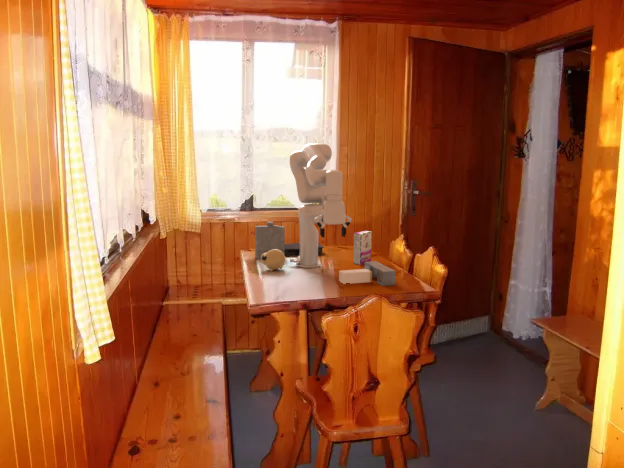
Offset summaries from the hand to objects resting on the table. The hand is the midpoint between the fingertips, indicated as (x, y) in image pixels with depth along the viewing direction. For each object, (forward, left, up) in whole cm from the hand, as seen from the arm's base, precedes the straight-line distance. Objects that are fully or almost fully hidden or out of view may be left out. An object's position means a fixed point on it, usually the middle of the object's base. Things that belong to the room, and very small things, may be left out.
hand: (333, 236), depth 227 cm
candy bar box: (+29, +32, -21) cm, 49 cm away
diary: (+4, +64, -21) cm, 68 cm away
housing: (+22, -3, -21) cm, 31 cm away
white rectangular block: (+10, -3, -21) cm, 23 cm away
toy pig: (-21, +27, -21) cm, 40 cm away
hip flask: (-16, +54, -21) cm, 60 cm away
